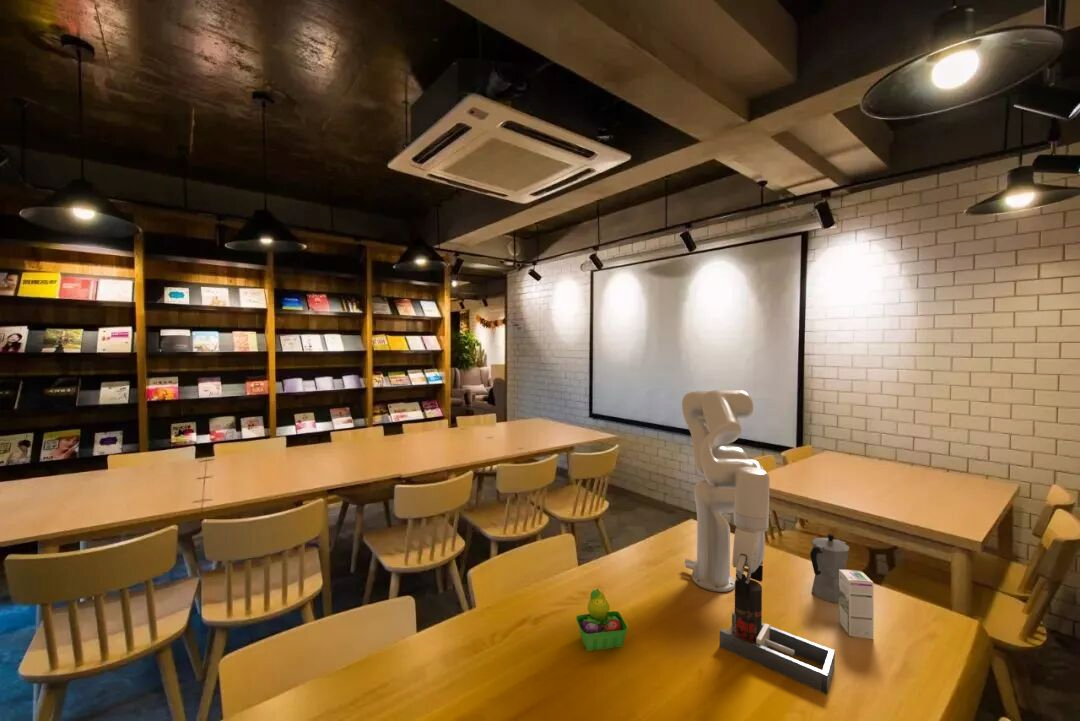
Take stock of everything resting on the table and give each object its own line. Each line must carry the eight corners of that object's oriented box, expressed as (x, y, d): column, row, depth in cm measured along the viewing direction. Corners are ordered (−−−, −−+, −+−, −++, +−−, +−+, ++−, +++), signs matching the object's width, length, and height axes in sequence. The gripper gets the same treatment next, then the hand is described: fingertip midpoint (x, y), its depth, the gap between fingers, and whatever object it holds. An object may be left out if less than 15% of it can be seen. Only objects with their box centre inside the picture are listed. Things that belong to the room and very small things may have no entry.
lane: (719, 646, 106) (719, 630, 106) (733, 627, 113) (733, 611, 113) (826, 694, 91) (827, 675, 91) (834, 667, 99) (834, 650, 99)
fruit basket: (583, 655, 103) (582, 608, 103) (574, 631, 112) (574, 588, 112) (629, 650, 105) (629, 604, 105) (616, 627, 114) (616, 584, 113)
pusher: (756, 657, 102) (756, 638, 101) (764, 641, 107) (765, 623, 107) (790, 671, 97) (790, 652, 97) (797, 654, 102) (797, 635, 102)
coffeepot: (827, 581, 135) (827, 524, 135) (860, 597, 127) (861, 536, 126) (795, 594, 128) (795, 533, 128) (828, 611, 120) (829, 546, 119)
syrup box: (874, 639, 108) (875, 582, 108) (847, 636, 109) (848, 579, 109) (862, 625, 114) (863, 570, 113) (837, 622, 115) (838, 568, 115)
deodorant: (729, 637, 109) (730, 578, 109) (752, 636, 110) (752, 577, 109) (742, 654, 103) (743, 592, 103) (766, 652, 104) (767, 590, 103)
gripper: (745, 504, 114) (744, 568, 115) (722, 527, 101) (721, 598, 102) (777, 512, 109) (775, 578, 110) (757, 537, 96) (755, 611, 97)
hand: (749, 587), depth 106 cm, fingers open, 9 cm apart
